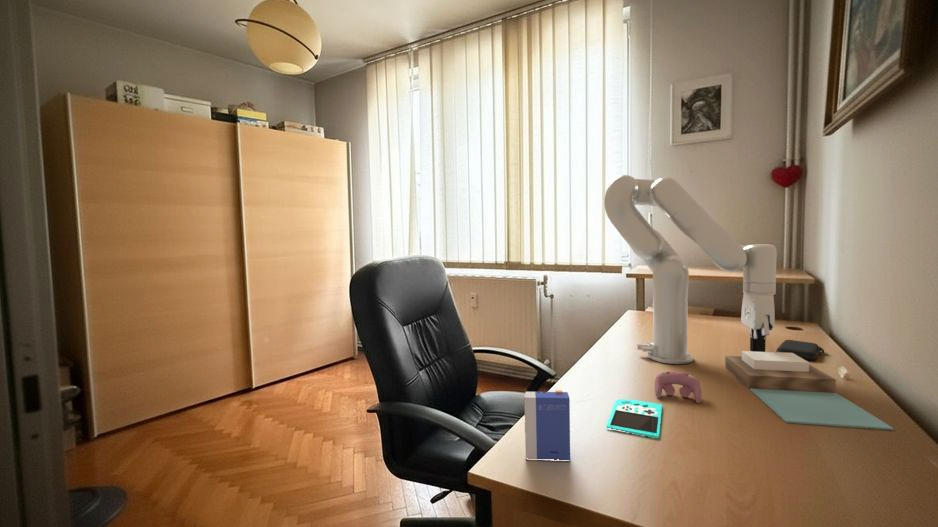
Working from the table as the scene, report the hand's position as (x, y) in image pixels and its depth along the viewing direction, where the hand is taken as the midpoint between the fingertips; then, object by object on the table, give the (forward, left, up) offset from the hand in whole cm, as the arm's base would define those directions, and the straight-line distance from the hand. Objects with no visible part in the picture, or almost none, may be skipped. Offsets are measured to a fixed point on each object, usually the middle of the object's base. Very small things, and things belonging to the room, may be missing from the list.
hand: (757, 351), depth 117 cm
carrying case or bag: (+17, +15, -5) cm, 23 cm away
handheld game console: (-38, -39, -5) cm, 55 cm away
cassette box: (0, -10, -1) cm, 10 cm away
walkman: (-56, -59, -4) cm, 81 cm away
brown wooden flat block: (0, -11, -4) cm, 11 cm away
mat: (0, -28, -4) cm, 28 cm away
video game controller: (-27, -26, -5) cm, 38 cm away
